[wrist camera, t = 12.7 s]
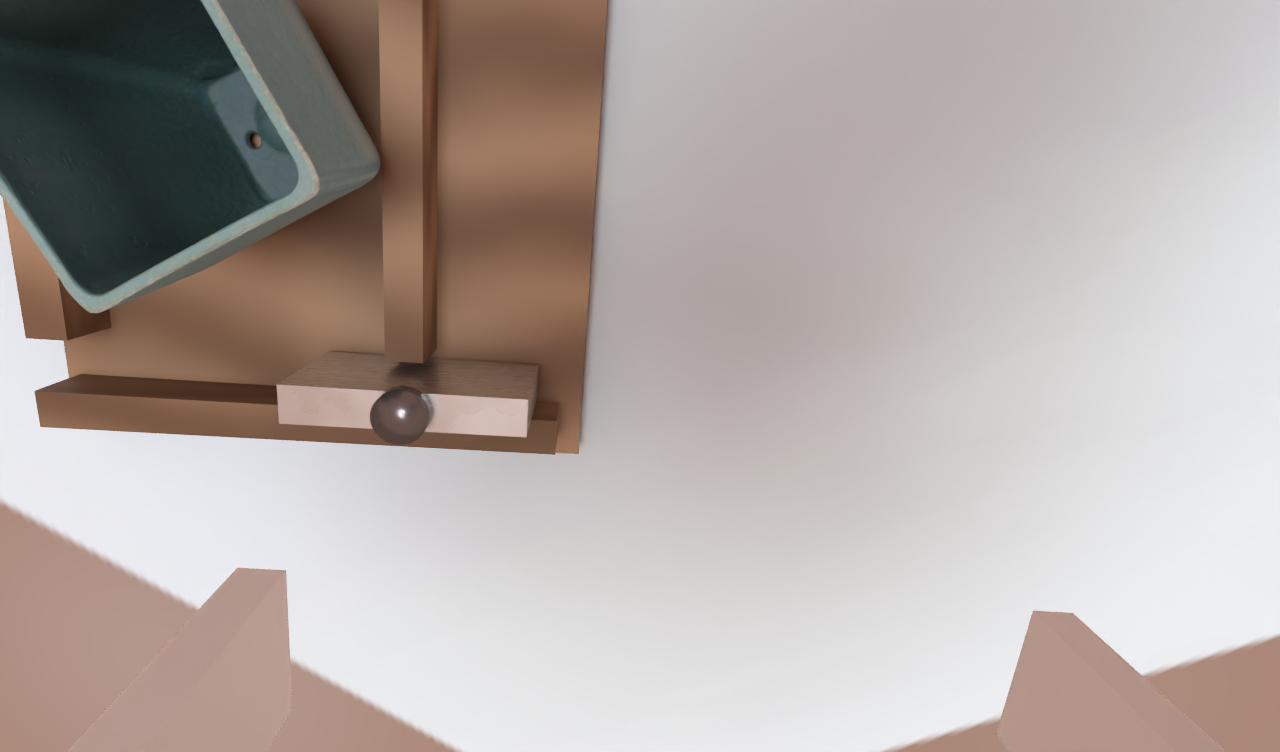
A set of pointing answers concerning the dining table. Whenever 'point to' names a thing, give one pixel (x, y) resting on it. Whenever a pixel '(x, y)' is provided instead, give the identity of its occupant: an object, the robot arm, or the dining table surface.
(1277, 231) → the dining table surface
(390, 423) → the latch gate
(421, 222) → the frame
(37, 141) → the flower pot
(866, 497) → the dining table surface
